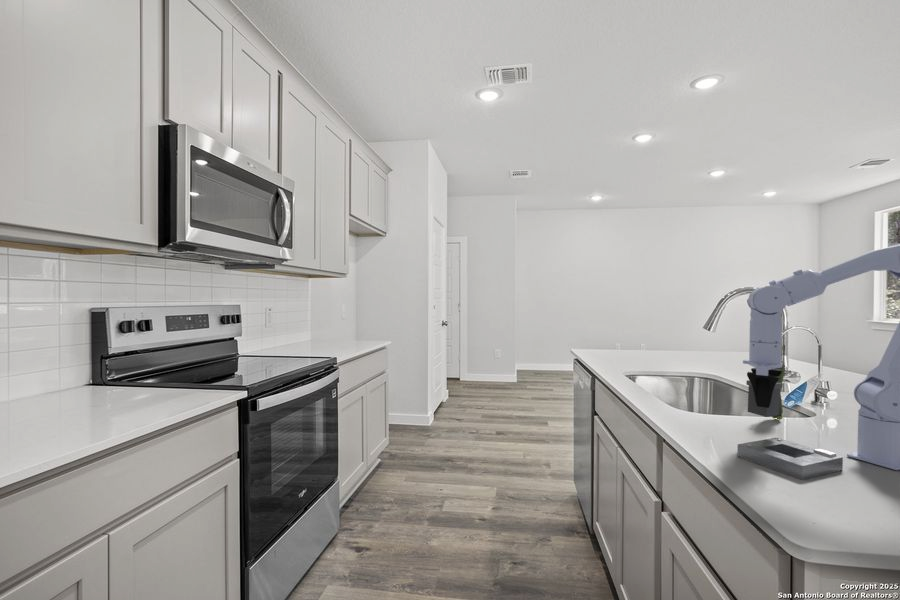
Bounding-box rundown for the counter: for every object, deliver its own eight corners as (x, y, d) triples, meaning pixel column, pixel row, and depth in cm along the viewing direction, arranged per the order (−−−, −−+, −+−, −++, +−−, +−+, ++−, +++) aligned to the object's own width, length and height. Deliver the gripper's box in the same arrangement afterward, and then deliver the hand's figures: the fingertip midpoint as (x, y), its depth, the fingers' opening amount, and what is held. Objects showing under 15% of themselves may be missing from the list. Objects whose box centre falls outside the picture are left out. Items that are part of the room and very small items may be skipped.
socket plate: (775, 449, 95) (776, 435, 95) (842, 470, 84) (842, 454, 83) (737, 456, 90) (737, 441, 90) (802, 479, 79) (802, 463, 79)
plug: (759, 409, 99) (760, 378, 99) (780, 415, 95) (782, 383, 95) (745, 411, 98) (746, 380, 97) (766, 417, 93) (768, 385, 93)
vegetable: (764, 420, 116) (766, 344, 116) (762, 416, 120) (763, 343, 120) (785, 422, 114) (787, 345, 114) (782, 418, 118) (783, 344, 118)
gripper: (747, 337, 104) (746, 395, 104) (739, 343, 93) (738, 407, 93) (784, 340, 100) (783, 399, 100) (781, 346, 88) (779, 413, 89)
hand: (764, 403), depth 96 cm, fingers closed on plug, 6 cm apart
